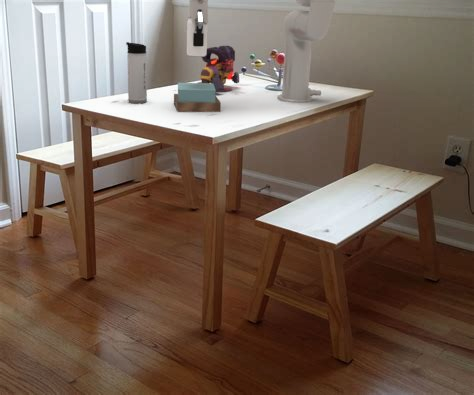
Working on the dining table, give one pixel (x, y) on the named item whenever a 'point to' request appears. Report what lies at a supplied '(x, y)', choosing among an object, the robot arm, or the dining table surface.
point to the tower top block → (196, 92)
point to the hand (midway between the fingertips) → (196, 44)
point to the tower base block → (197, 106)
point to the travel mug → (137, 73)
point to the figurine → (219, 68)
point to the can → (192, 50)
